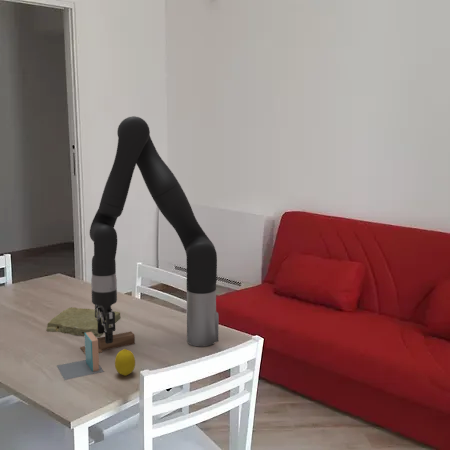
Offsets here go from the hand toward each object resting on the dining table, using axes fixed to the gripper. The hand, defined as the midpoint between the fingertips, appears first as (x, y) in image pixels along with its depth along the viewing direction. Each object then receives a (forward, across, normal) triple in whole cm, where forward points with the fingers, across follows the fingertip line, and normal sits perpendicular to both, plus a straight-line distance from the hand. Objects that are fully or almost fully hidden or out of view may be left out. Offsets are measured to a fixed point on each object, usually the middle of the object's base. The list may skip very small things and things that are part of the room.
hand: (105, 337), depth 179 cm
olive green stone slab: (+4, +22, +1) cm, 23 cm away
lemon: (+4, -21, 0) cm, 21 cm away
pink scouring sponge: (+3, -12, +7) cm, 14 cm away
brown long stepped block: (+3, 0, -1) cm, 4 cm away
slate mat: (+4, -12, +10) cm, 16 cm away
